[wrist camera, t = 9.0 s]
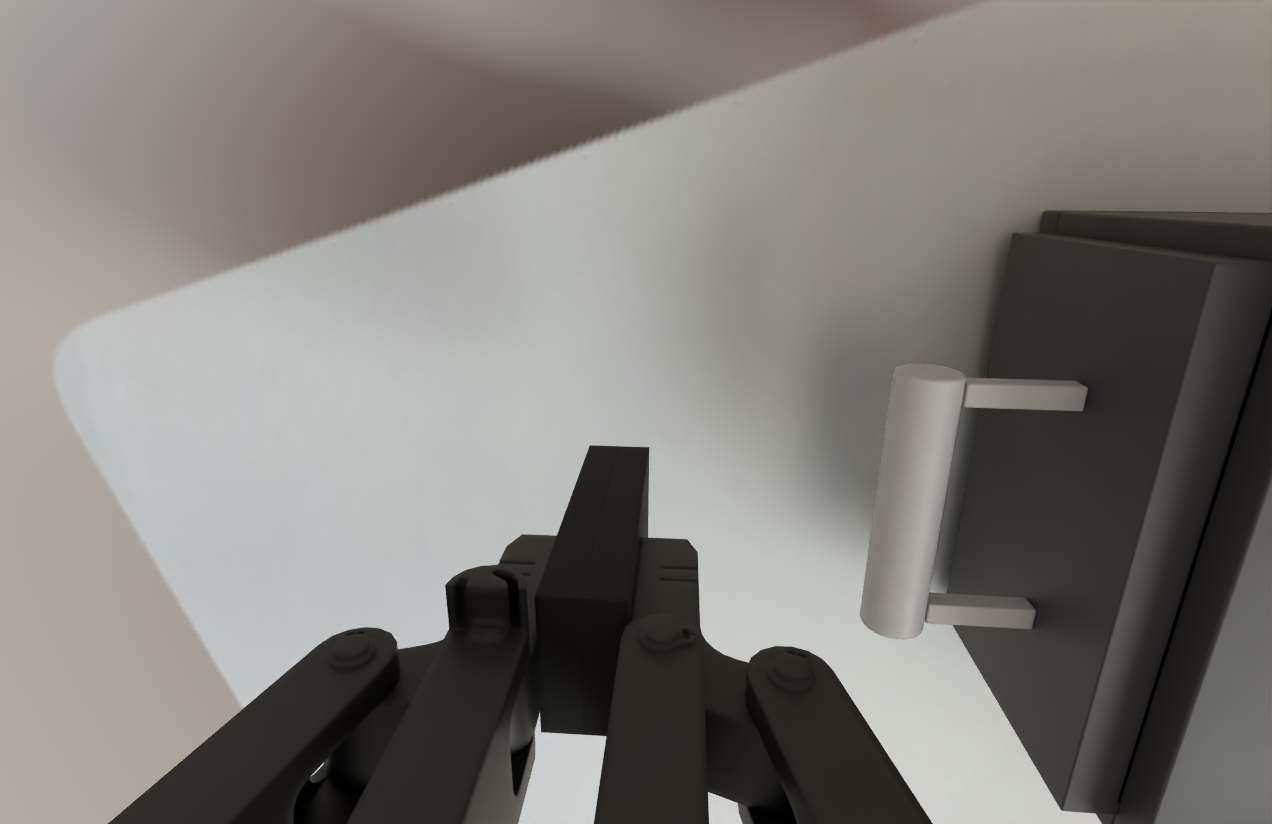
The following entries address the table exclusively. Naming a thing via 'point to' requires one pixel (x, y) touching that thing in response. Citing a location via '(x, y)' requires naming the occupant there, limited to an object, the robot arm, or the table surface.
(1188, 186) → the table surface
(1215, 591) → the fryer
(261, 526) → the table surface
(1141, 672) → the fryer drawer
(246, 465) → the table surface
